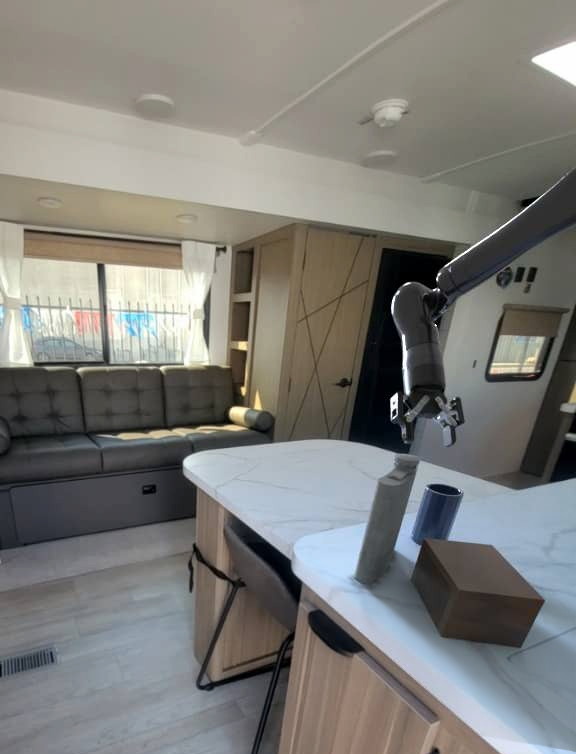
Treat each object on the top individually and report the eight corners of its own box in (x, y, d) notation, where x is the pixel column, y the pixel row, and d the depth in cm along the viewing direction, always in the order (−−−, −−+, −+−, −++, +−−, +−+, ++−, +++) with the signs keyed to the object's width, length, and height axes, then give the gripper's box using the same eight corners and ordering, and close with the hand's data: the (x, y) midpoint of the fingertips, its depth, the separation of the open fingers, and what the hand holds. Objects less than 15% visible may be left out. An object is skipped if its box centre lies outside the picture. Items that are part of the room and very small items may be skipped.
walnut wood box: (475, 586, 67) (492, 544, 63) (521, 648, 54) (545, 600, 51) (410, 579, 68) (423, 537, 65) (441, 637, 56) (459, 589, 52)
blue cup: (439, 534, 83) (455, 484, 78) (450, 550, 77) (469, 497, 72) (406, 531, 84) (421, 482, 79) (416, 546, 78) (432, 494, 73)
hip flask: (377, 542, 79) (403, 442, 71) (399, 549, 77) (429, 447, 68) (351, 578, 68) (379, 465, 59) (376, 588, 66) (409, 472, 57)
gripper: (401, 358, 81) (407, 433, 77) (468, 364, 82) (477, 439, 78) (380, 378, 88) (385, 448, 84) (442, 384, 89) (449, 453, 85)
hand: (429, 444), depth 81 cm, fingers open, 8 cm apart
